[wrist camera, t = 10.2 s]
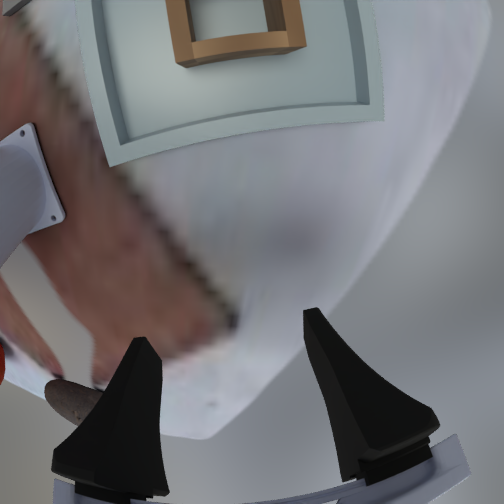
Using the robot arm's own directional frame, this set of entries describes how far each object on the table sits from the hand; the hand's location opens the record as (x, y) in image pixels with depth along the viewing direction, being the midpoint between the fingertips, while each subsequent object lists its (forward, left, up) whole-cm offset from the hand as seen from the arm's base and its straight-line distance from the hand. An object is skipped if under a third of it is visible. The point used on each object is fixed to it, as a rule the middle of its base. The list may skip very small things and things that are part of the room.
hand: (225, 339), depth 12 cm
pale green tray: (+3, +14, -9) cm, 17 cm away
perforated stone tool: (-25, -22, -10) cm, 35 cm away
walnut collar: (+3, +14, -9) cm, 17 cm away
